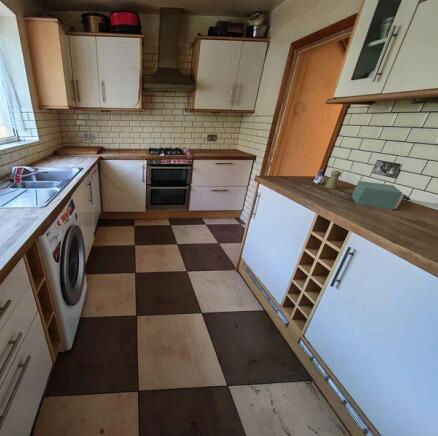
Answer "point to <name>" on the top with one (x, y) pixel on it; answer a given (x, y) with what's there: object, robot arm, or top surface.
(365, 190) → the green faceted block
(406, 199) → the drawer
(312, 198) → the top surface
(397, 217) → the top surface
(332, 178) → the beige upright figurine
